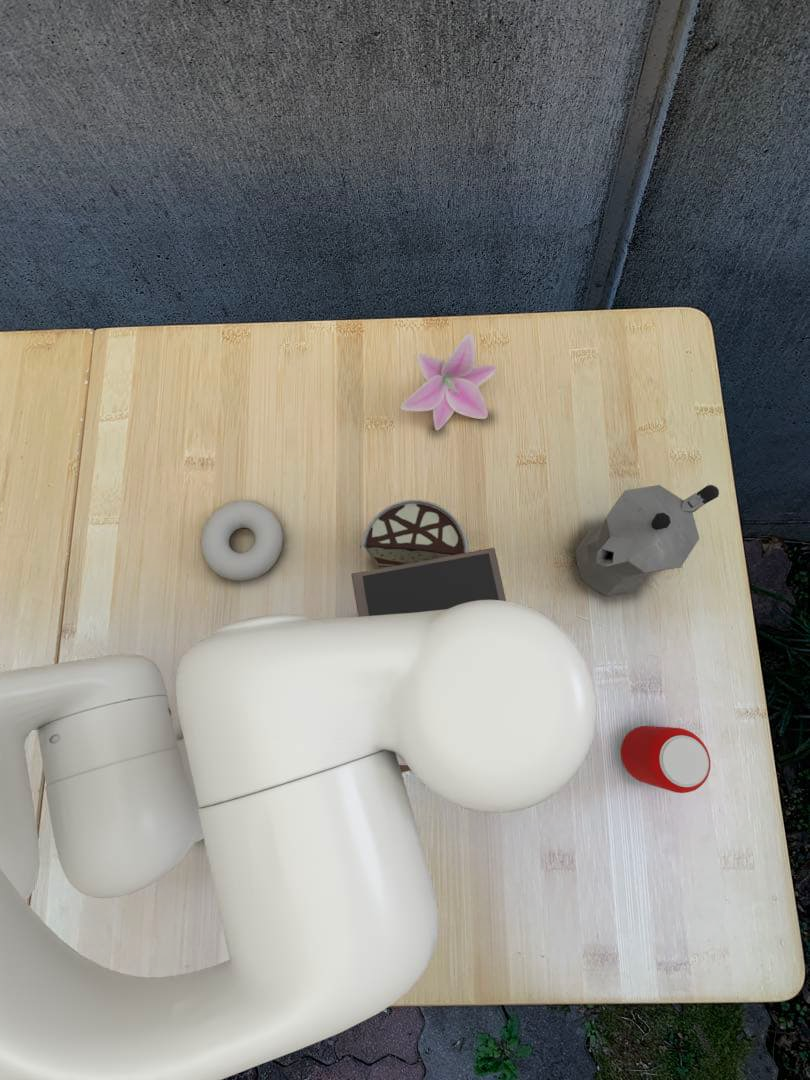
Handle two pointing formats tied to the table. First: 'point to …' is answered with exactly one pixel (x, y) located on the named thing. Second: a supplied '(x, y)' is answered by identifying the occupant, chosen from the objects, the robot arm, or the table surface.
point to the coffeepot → (640, 538)
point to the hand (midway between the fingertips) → (452, 707)
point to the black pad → (430, 586)
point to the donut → (252, 560)
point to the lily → (451, 385)
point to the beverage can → (666, 758)
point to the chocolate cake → (413, 534)
